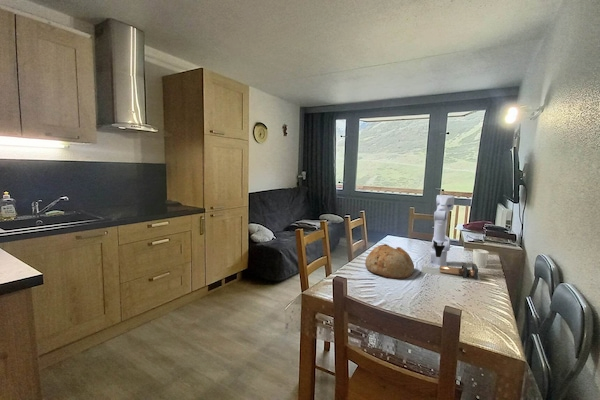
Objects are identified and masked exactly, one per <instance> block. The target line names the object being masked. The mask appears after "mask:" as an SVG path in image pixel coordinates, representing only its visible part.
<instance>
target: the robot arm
mask: <svg viewBox="0 0 600 400" xmlns="http://www.w3.org/2000/svg"><path fill="white" fill-rule="evenodd" d="M435 200H436V210H434V213H433V223H434V228H433V237H432V240H431V249H430V252H429V253H430V254H429V260H428V261H429V265H430V266H431V265H433V266H439V267H440V265H441V266H448V265H447V258H448V257H447V256H448V255H447V254H448V252H450V251H451V249H450V248H451V238H450V237H449V236H447V230H448V229H447V228H448V227H447V226H448V218H449V213H450V211H452V210H453V209H454V205H455V195H450V194H449V195H448V194H447V195H445V194H437V195H436V198H435Z"/></svg>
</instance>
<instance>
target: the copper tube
mask: <svg viewBox="0 0 600 400" xmlns="http://www.w3.org/2000/svg"><path fill="white" fill-rule="evenodd" d="M439 269H440V273H447V274H454V275H460V276H463V270H464V269H463V268H462V267H456V266H448V265H447V266H441V265H440V266H439ZM467 277H474V270H472V269H471V268H469V269H468V268H467Z"/></svg>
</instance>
